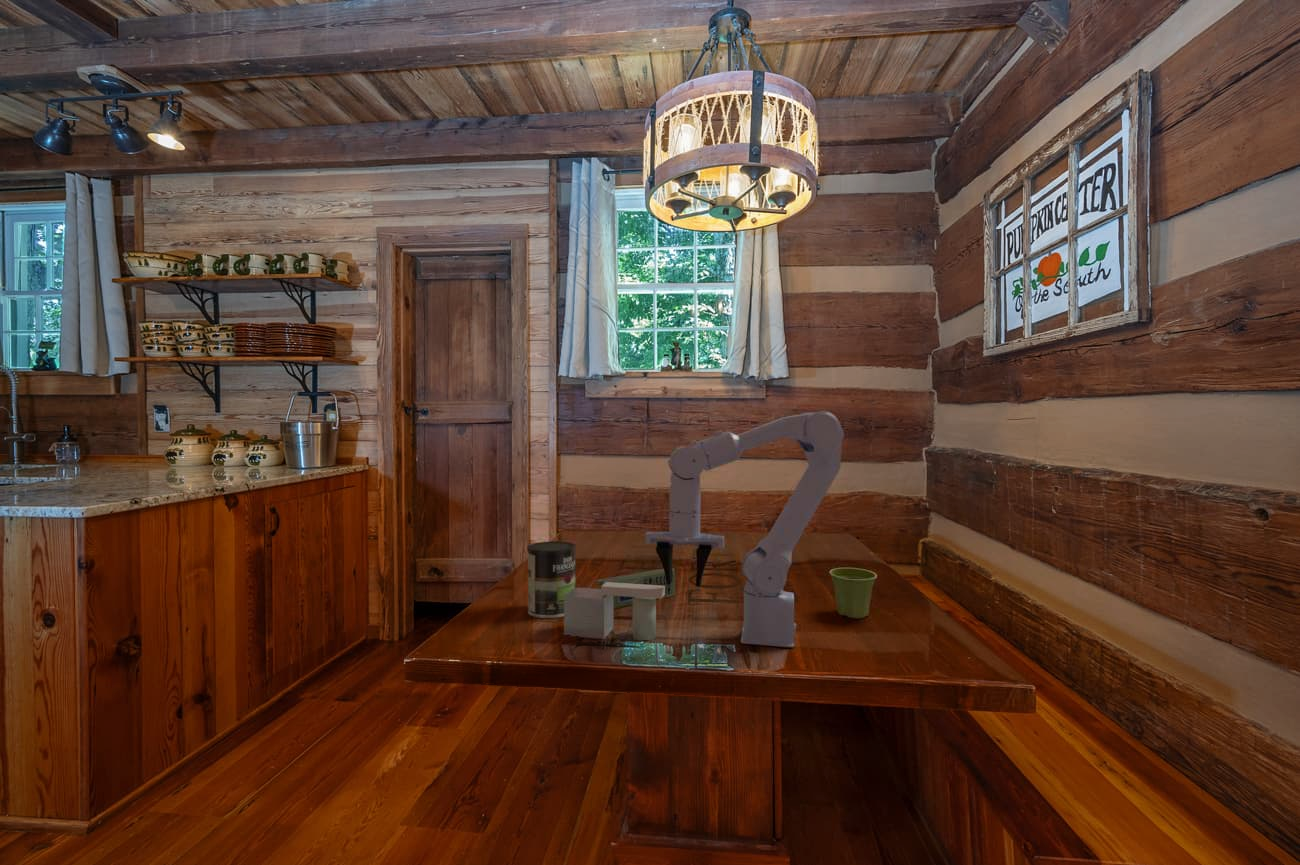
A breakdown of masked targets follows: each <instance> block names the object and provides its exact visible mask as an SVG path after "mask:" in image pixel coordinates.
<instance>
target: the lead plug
mask: <svg viewBox="0 0 1300 865" xmlns="http://www.w3.org/2000/svg"><path fill="white" fill-rule="evenodd" d="M655 637H656V638H657V600H656V599H655V598H642V597H635V598H633V605H632V638H633V639H634V640H636V641H640V640H641V641H640V642H643V641H642V640H649V641H651V640H652V639H653V640H654V638H655ZM656 638H655V639H656Z"/></svg>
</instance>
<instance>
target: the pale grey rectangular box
mask: <svg viewBox="0 0 1300 865" xmlns="http://www.w3.org/2000/svg"><path fill="white" fill-rule="evenodd" d="M601 595H613V596H627V597H642V598H656V599H658V600H661V599H662V598H663V596H664V595H665V586H661V585H645V584H629V583H614V582H606V583H605V584H603V585H602V586H601ZM663 599H664V598H663Z"/></svg>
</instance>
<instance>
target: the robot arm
mask: <svg viewBox="0 0 1300 865" xmlns="http://www.w3.org/2000/svg"><path fill="white" fill-rule="evenodd" d="M713 434H714V435H712V436H710V437H707V438H705V439H702V440H698V441H697V440H696V439H694V440H691V441H690V445H687V446H684V445H683V446H679V447H677V448H675V449H674V450H673V451H672V452H671V454H670V456H669V460H668V462H667V463H668V466H669V469H670V471H671V476H670V486H669V523H668V524H669V526H668V527H669V529H668V530H669V531H647V532H645V544H649V545H651V544H656V547H655V551H656V554H657V555H658V558H659V560H660V562H661V565H662V567H663V568H664V572H665V576H666V582H667V584H671V583H672V578H673V573H672V568H673V556H674V554H673V553H674V545H675V546H676V545H677V546H678V545H679V546H688V547H689V546H691V547H692V546H693V547H697V548H696V549H695V550H696V551H695V555H696V557H695V558H696V576H695V587H696V588H699V587H701V585H702V580H703V579H702V578H703V575H704V572H705V567H706V564H707V562H708V559H709V558H710V555H711V553H712V550H713V548H717V549H724V547H725V536H724V535H715V534H710V533H709V534H707V533H702V532H701V504H702V503H701V502H702V501H701V498H702V496H701V490H702V489H701V474H702V472H703V471H707V472H708V471H711V470H713V469H716V468H719V467H722V466H725V465H728V464H732V463H734V462H736V461H738V460H739V458H740V457H741V454H742V453H743V452H744V451H746V450H749V449H753V448H756V447H760V446H762V445H766V444H768V443H772V442H775V441H778V440H781V439H788V440H796V442H797V443H798V444H799V446H800V447H801V448H802V450H803V452H804V454H805V457H806V460H807V463H808V466H807V468H806V469H805V472H804V473H803V475H802V476H801V478H800V479H799V481H798V483H797V485H796V487H794V488H795V489H794V490H793V492H792V493H791V495H790V497H789V498H788V501H787V502H786V504H785V505H784V506H783V508H782V510H781V512H780V513H779V515H778V517H777V519H776V520H775V522H774V524H773V525H772V527H771V529H770V531H769V533H768V534H767V535H766V536H765V537H764V538H763V539H761V540H760V541H759V542H758V543H757V545H756V547H755V548H754V549H753V550H751V551H749V552H748V553H746V555H745V556H744V558H743V560H742V561H741V562H742V563H741V570H742V573H743V575H744V577H745V578H746V579H747V580H746V582H745V585H743V627H742V632H741V634H740V635H741V637H740V643H741V644H745V645H758V646H769V647H779V648H781V647H782V648H792V649H793V648H794V647H795V634H796V632H797V631H796V630H797V628H796V626H797V624H796V622H795V594H794V592H790V591H789V592H788V591H785V590H784V587H785V585H786V583H787V576H788V575H787V574H788V571H789V569H790V567H791V565H792V558H793V555H792V554H793V550H794V548H795V547H796V545H797V543H798V542H799V540H800V538H801V537H802V535H803V533H804V531H806V530H805V529H806V528H807V526H808V524H809V523H810V521H811V520H812V518H813V517H814V515H815V512H816V511H817V509H818V507H819V506H820V505H821V502H822V501H823V499H824V497H825V495H826V494H827V492H828V491H829V489H830V487H831V486H832V484H833V483H834V480H835V478H836V477H837V475H838V473H839V471H840V469H841V458H842V457H841V456H842V442H843V439H844V437H845V433H844V431H843V428H842V426H841V423H840V421H839V418H837V416H836V415H834V414H833V413H832V412H829V411H826V410H822V411H817V412H811V411H810V412H809V411H808V412H807V411H806V412H802V413H800V414H795V415H789V416H784V417H780V418H778V419H774V420H772V421H770V422H767V423H765V424H762V425H760V426H757V427H754V428H752V429H749V430H747V431H743V432H742V433H738V434H735V433H734V432H733V433H732V432H731V431H724V432H723V430H720V429H719V430H717V431H714V432H713ZM663 568H662V569H663Z"/></svg>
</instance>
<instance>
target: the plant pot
mask: <svg viewBox="0 0 1300 865" xmlns="http://www.w3.org/2000/svg"><path fill="white" fill-rule="evenodd" d="M829 575H830V576H831V580H832V582H833V588H834V593H835V594H834V595H835V601H836V602H835V603H836V610H837V613H838V614H839V615H840V616H846V617H847V618H850V619H863V618H866V617H868V616H869V611H870V604H871V598H872V592H873V586H874V585H875V580H876V579H877V578H878V575H877V573H875V571H871V570H868V569H863V568H856V567H837V568H833V569H830V570H829Z"/></svg>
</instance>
